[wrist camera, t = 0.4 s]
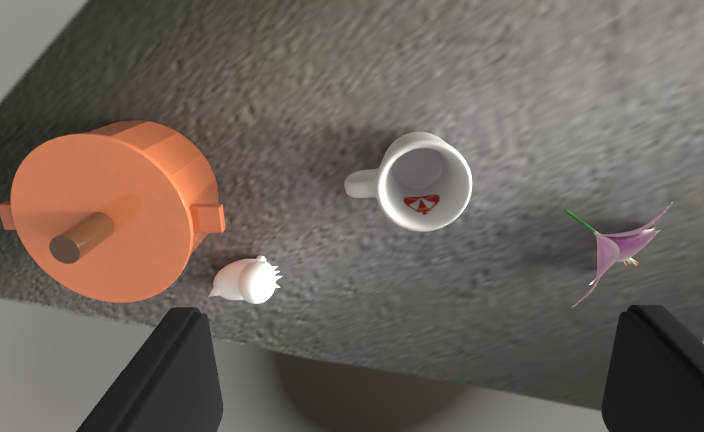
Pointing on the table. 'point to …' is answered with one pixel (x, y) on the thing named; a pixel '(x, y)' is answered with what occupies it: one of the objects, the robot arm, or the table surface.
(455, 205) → the cup
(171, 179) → the lid
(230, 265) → the toy creature
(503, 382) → the table surface
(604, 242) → the lily
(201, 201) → the pot
